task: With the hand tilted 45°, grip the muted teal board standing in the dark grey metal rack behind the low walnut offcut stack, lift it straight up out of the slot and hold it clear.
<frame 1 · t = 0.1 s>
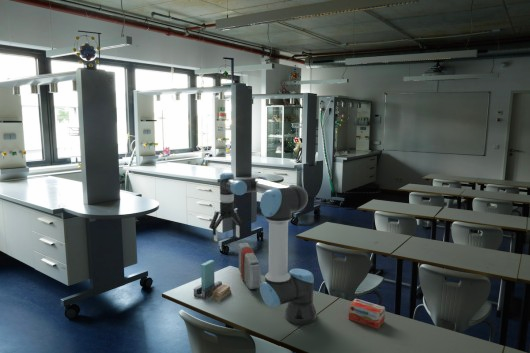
hand: (226, 238, 223), 28 cm above the table, tool pointing down, fingers open, 13 cm apart
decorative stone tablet: (249, 283, 232), on the table
medicine box: (366, 321, 191), on the table
teal board: (208, 292, 220), resting in board rack
offcut stack: (221, 296, 215), on the table
board rack: (208, 292, 220), on the table
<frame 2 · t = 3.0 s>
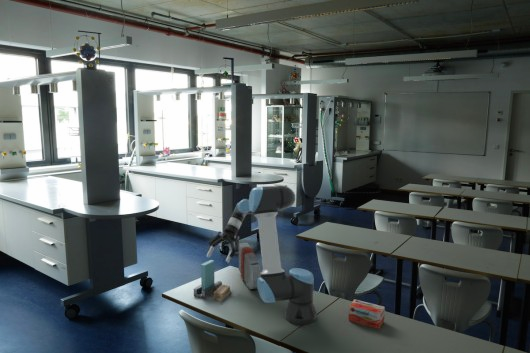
hand: (217, 259, 225), 15 cm above the table, tool tilted 45°, fingers open, 13 cm apart
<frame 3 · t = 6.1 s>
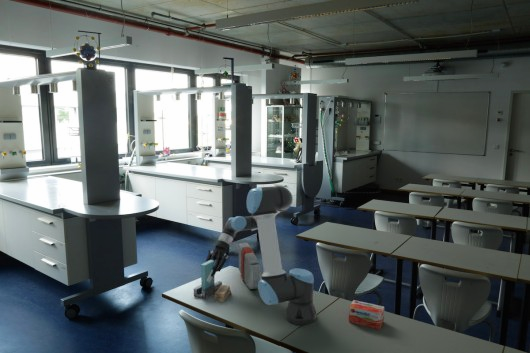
hand: (205, 281, 217), 7 cm above the table, tool tilted 45°, fingers closed on teal board, 2 cm apart
teal board: (208, 292, 220), resting in board rack, touching gripper
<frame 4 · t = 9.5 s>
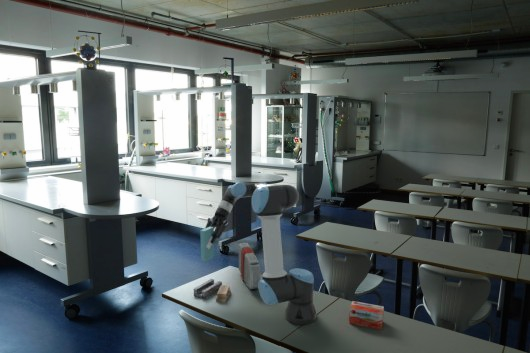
hand: (205, 247, 214), 26 cm above the table, tool tilted 45°, fingers closed on teal board, 2 cm apart
teal board: (207, 259, 217), point 19 cm above the table, touching gripper
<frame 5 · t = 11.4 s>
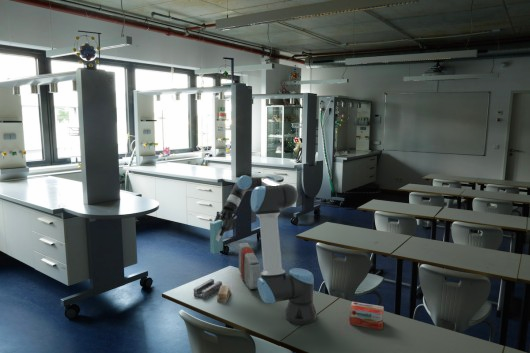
hand: (214, 239, 220), 28 cm above the table, tool tilted 45°, fingers closed on teal board, 2 cm apart
teal board: (216, 251, 223), point 21 cm above the table, touching gripper
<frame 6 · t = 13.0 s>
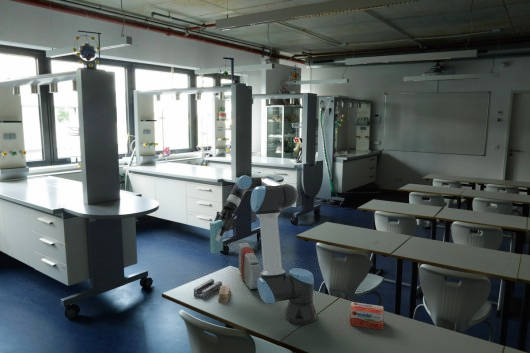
hand: (214, 239, 220), 28 cm above the table, tool tilted 45°, fingers closed on teal board, 2 cm apart
teal board: (216, 251, 223), point 21 cm above the table, touching gripper
at the end: the gripper is holding teal board; teal board point 20.9 cm above the table; teal board touching gripper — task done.
